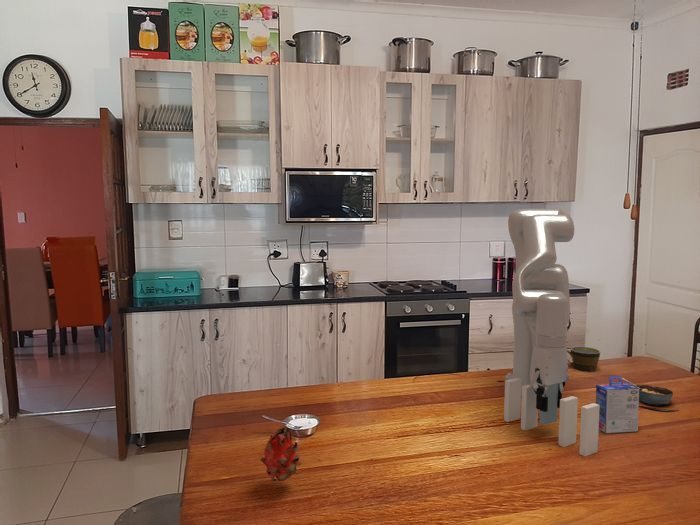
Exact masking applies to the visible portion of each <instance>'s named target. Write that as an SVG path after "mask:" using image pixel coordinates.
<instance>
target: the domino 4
mask: <svg viewBox="0 0 700 525" xmlns="http://www.w3.org/2000/svg"><path fill="white" fill-rule="evenodd" d="M578 401H579V398H578V397H576V396H574V395H573V396H568V397H567V396H566V397H564V398H563V397H562V399H560V408H559V418H558V419H559V421H558V441H557V443H558V446H560V447H562V448H565V447H567V446H570V445H573V444H574V445H575V444H576V443H577V432H578V431H577V430H578V429H577V426H578V408H579V407H578Z"/></svg>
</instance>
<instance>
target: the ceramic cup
mask: <svg viewBox="0 0 700 525" xmlns="http://www.w3.org/2000/svg"><path fill="white" fill-rule="evenodd" d="M567 354H569V356H570V357H571V360H572V361H570V360H569V359H568V364H570V365H571V367H573V369H575V370H577V371H578V372H584V373H593V372H596V371H597V368H598V364H599V360H600V357H601V350H599V349H597V348H593V347H587V346H574V347H571V348H570V350H567Z"/></svg>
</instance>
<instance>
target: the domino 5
mask: <svg viewBox="0 0 700 525" xmlns="http://www.w3.org/2000/svg"><path fill="white" fill-rule="evenodd" d="M599 408H600V405H598V404H596V402H595V403H594V402H593V403H589V404H586V405H583V406H581V407H580V430H579V431H580V432H579V437H580V438H579V453H578V454H579V455H581V456H583V457H588V456H590V455H593V454H595V453H598V449H599V448H598V446H599V430H600V429H599Z"/></svg>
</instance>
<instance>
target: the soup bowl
mask: <svg viewBox="0 0 700 525" xmlns="http://www.w3.org/2000/svg"><path fill="white" fill-rule="evenodd" d="M621 380H624V381H625V382H626V383H629V384H631V385H633V386H635V387H637V388H639V402H641V403H643V404H646V405H648V406H642V405H640V406H641V408H644V409H648V410H653V411H660V412H661V411H662V412H673V411H674V412H675V411H678V409H677V410H676V409H665V408H658V407H660V405H661V406H667V405H669V404H670V402H671V401H672V399H673V395H674V392H673V390H671V389H668V388H665V387H661V386H656V385H648V384H634V383H633V382H631V381H629V380H627V379H625V378H624V377H621ZM649 406H650V407H649ZM651 406H652V407H651Z"/></svg>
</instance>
